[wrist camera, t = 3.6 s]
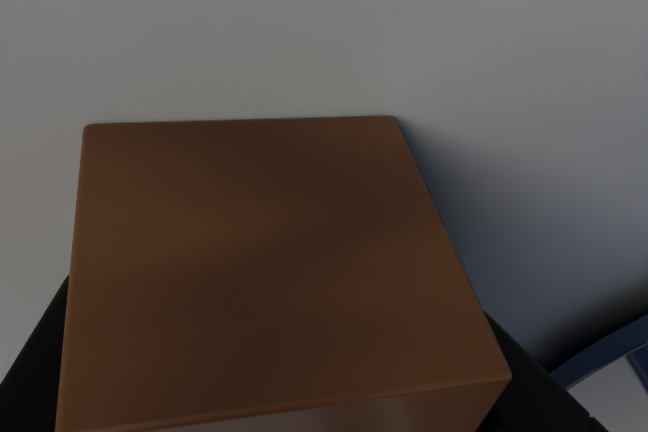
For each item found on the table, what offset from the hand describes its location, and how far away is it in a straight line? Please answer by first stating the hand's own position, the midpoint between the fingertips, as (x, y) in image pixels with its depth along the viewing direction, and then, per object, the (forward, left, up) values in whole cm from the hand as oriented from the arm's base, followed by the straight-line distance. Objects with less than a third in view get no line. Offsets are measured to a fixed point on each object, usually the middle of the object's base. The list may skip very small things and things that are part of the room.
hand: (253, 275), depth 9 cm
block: (0, 0, -1) cm, 1 cm away
